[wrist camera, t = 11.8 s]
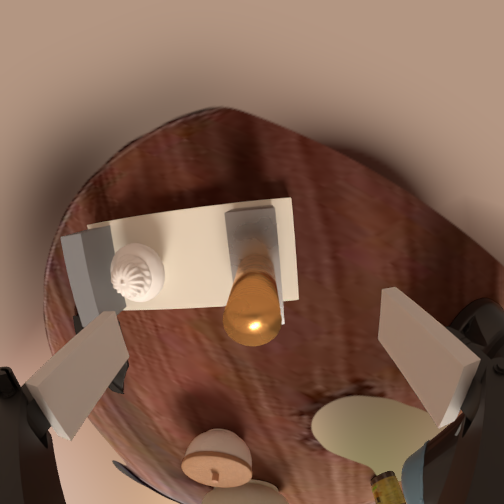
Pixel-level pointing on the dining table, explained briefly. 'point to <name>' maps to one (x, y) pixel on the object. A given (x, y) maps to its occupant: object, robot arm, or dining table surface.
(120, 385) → the curved wedge
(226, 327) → the ram
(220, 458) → the lidded jar
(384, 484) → the sauce bottle
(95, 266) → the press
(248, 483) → the kettle
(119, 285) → the white steamed bun
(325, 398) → the dining table surface
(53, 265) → the dining table surface
